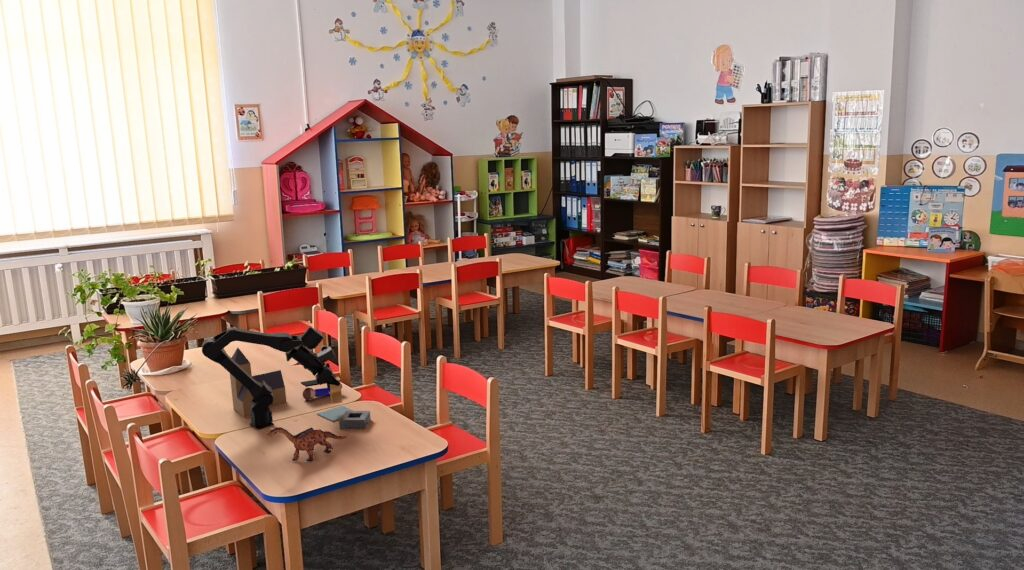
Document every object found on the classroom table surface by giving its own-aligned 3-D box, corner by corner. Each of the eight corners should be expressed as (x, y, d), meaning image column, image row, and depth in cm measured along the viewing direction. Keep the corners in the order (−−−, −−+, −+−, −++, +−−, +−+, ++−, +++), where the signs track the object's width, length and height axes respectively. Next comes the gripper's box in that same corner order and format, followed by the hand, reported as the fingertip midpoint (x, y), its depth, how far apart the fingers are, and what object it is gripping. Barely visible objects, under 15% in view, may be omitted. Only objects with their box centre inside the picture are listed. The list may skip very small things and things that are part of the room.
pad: (332, 421, 290) (332, 420, 290) (317, 414, 298) (317, 413, 298) (358, 413, 297) (358, 412, 297) (342, 406, 305) (342, 405, 305)
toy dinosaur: (263, 472, 250) (259, 427, 247) (335, 440, 274) (332, 398, 271) (281, 478, 245) (276, 433, 242) (352, 445, 269) (349, 403, 266)
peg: (342, 402, 296) (340, 379, 294) (332, 403, 295) (330, 380, 293) (340, 399, 299) (339, 376, 297) (331, 400, 298) (329, 378, 296)
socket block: (364, 429, 282) (364, 419, 282) (340, 429, 283) (339, 420, 282) (370, 419, 291) (369, 410, 290) (346, 419, 292) (345, 410, 291)
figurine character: (335, 394, 325) (299, 398, 316) (336, 376, 324) (300, 379, 315) (342, 398, 319) (306, 403, 310) (343, 380, 318) (306, 384, 309)
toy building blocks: (233, 409, 307) (226, 347, 302) (280, 398, 318) (274, 337, 313) (244, 418, 297) (237, 354, 292) (292, 406, 308) (286, 344, 303)
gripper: (323, 348, 282) (356, 373, 288) (318, 335, 299) (349, 359, 305) (302, 372, 281) (336, 397, 287) (298, 357, 298) (330, 382, 304)
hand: (338, 383), depth 296 cm, fingers closed on peg, 4 cm apart
